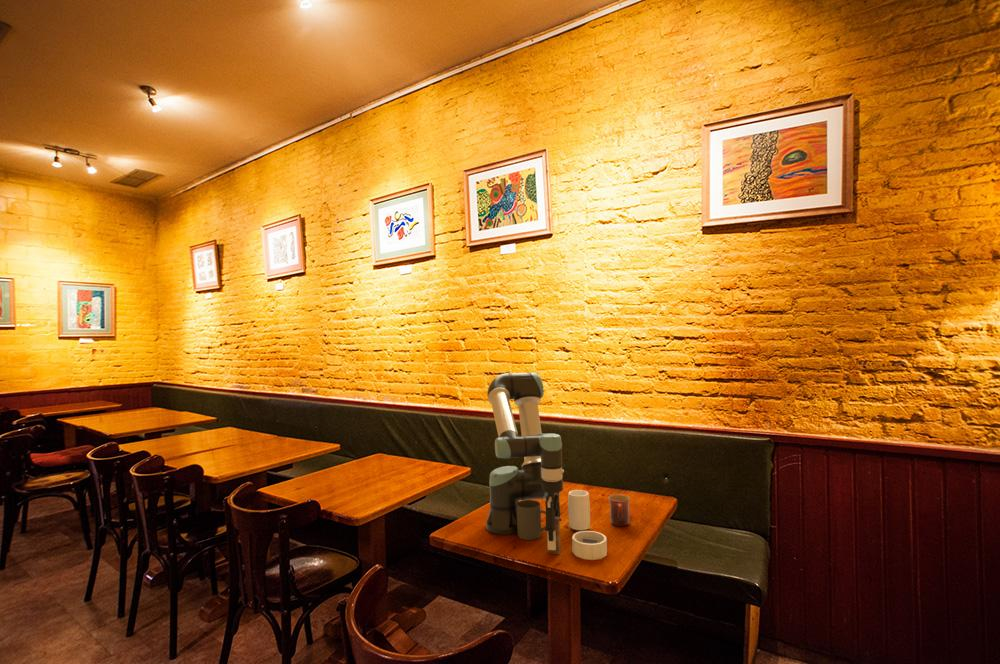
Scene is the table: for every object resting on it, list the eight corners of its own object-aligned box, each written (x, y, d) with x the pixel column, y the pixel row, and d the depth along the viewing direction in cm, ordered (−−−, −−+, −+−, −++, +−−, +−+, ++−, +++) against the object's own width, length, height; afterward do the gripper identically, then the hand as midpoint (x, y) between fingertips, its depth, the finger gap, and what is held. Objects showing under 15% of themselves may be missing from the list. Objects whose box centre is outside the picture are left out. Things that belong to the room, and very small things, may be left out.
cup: (591, 526, 185) (590, 490, 186) (589, 534, 177) (588, 497, 178) (570, 524, 188) (569, 488, 188) (567, 532, 179) (566, 495, 180)
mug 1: (513, 537, 176) (512, 505, 177) (524, 528, 184) (523, 498, 185) (545, 544, 169) (544, 511, 170) (556, 535, 177) (555, 503, 178)
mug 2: (608, 518, 192) (607, 493, 193) (630, 519, 191) (629, 494, 191) (609, 530, 181) (608, 503, 181) (632, 531, 179) (631, 504, 179)
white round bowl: (570, 557, 159) (570, 542, 159) (575, 543, 170) (575, 529, 170) (605, 561, 155) (604, 546, 155) (607, 546, 166) (607, 532, 166)
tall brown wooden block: (547, 553, 163) (546, 518, 163) (549, 550, 165) (548, 515, 165) (559, 554, 161) (558, 519, 162) (560, 551, 164) (559, 516, 164)
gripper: (557, 488, 153) (559, 558, 152) (567, 471, 172) (569, 534, 172) (535, 486, 155) (537, 556, 155) (547, 470, 175) (549, 532, 174)
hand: (553, 544), depth 163 cm, fingers open, 7 cm apart
